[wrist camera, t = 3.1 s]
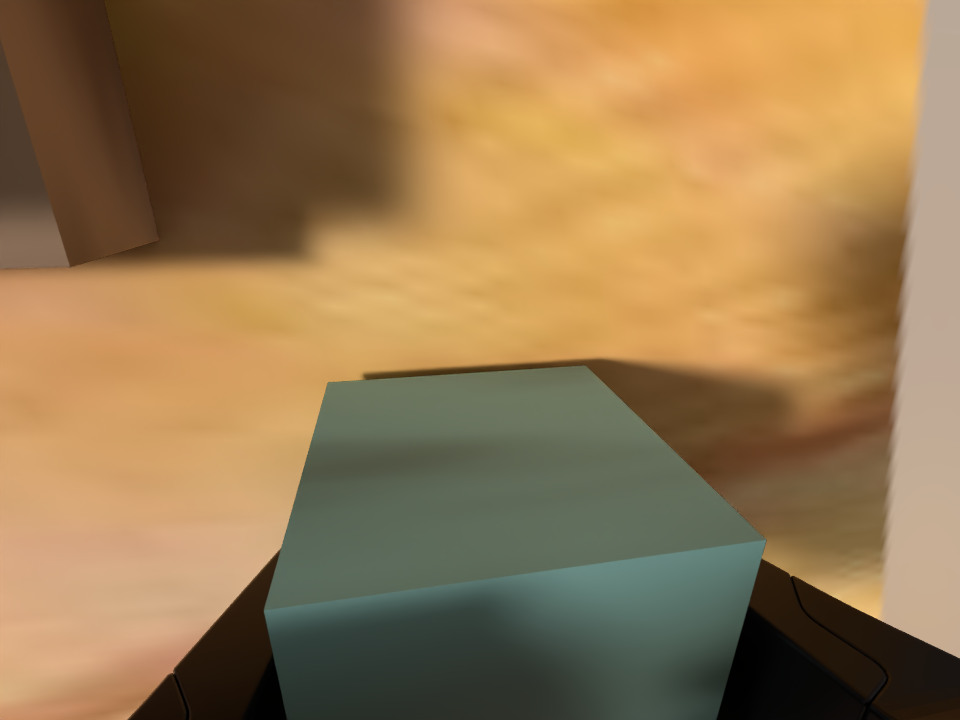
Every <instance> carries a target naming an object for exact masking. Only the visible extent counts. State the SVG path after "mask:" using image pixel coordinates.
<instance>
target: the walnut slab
mask: <svg viewBox="0 0 960 720" xmlns="http://www.w3.org/2000/svg"><path fill="white" fill-rule="evenodd" d="M155 241H159V237H158V232H157V228H156V224H155V219H154V215H153V211H152V206H151V202H150V198H149V193H148V189H147V185H146V180H145V176H144V172H143V168H142V163H141V159H140V155H139V150H138V146H137V142H136V137H135V133H134V129H133V124H132V120H131V116H130V111H129V107H128V103H127V99H126V94H125V90H124V86H123V81H122V77H121V73H120V68H119V64H118V60H117V55H116V51H115V47H114V42H113V38H112V34H111V30H110V25H109V21H108V17H107V12H106V8H105V4H104V0H0V269H9V268H53V267H72V266H75V265H79V264H82V263H85V262H89V261H92V260H95V259H99V258H102V257H105V256H109V255H112V254H115V253H119V252H122V251H125V250H129V249H132V248H135V247H139V246H142V245H145V244H149V243H152V242H155Z"/></svg>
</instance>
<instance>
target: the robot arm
mask: <svg viewBox="0 0 960 720" xmlns="http://www.w3.org/2000/svg"><path fill="white" fill-rule="evenodd" d="M280 551H281V549H280V550H279V551H278V552H277V553H276V554H275V555H274V557H273V558H272V559H271V560H270V561H269V562H268V563H267V564H266V566H265V567H264V568H263V569H262V570H261V571H260V572H259V573H258V575H257V576H256V577H255V578H254V579H253V580H252V581H251V582H250V584H249V585H248V586H247V587H246V588H245V589H244V590H243V591H242V593H241V594H240V595H239V596H238V597H237V598H236V599H235V600H234V602H233V603H232V604H231V605H230V606H229V607H228V608H227V609H226V611H225V612H224V613H223V614H222V615H221V616H220V617H219V618H218V620H217V621H216V622H215V623H214V624H213V625H212V626H211V627H210V629H209V630H208V631H207V632H206V633H205V634H204V635H203V636H202V638H201V639H200V640H199V641H198V642H197V643H196V644H195V645H194V647H193V648H192V649H191V650H190V651H189V652H188V653H187V654H186V656H185V657H184V658H183V659H182V660H181V661H180V662H179V663H178V665H177V666H176V667H175V668H174V670H173V673H174V674H173V673H170V674H169V675H167V677H166V678H165V679H164V680H163V681H162V682H161V683H160V684H159V686H158V687H157V688H156V689H155V690H154V691H153V692H152V693H151V695H150V696H149V697H148V698H147V699H146V700H145V701H144V702H143V703H142V704H141V706H140V707H139V708H138V709H137V710H136V711H135V712H134V713H133V714H132V715H131V716H130V717H129V718H128V720H287V716H286V712H285V707H284V703H283V698H282V693H281V689H280V684H279V679H278V675H277V670H276V665H275V661H274V656H273V651H272V647H271V642H270V637H269V633H268V628H267V623H266V619H265V614H264V608H265V604H266V601H267V597H268V594H269V590H270V587H271V583H272V579H273V576H274V572H275V569H276V565H277V562H278V558H279V555H280ZM716 720H960V658H957V657H956V656H953V655H951V654H949V653H947V652H945V651H943V650H941V649H939V648H936V647H934V646H932V645H930V644H928V643H926V642H924V641H922V640H920V639H918V638H915V637H913V636H911V635H909V634H907V633H905V632H903V631H901V630H898V629H896V628H894V627H892V626H890V625H888V624H886V623H884V622H882V621H880V620H878V619H876V618H874V617H872V616H870V615H868V614H866V613H864V612H862V611H859V610H857V609H855V608H853V607H851V606H849V605H848V604H846V603H844V602H842V601H840V600H838V599H836V598H834V597H832V596H830V595H828V594H827V593H825V592H823V591H821V590H819V589H817V588H815V587H813V586H811V585H810V584H808V583H806V582H804V581H802V580H800V579H799V578H797V577H795V576H791V577H790V575H789V573H787V572H786V571H784V570H782V569H780V568H778V567H776V566H774V565H773V564H771V563H769V562H767V561H765V560H763V559H762V558H761V561H760V565H759V569H758V572H757V576H756V579H755V583H754V587H753V590H752V594H751V597H750V601H749V604H748V608H747V612H746V615H745V619H744V622H743V626H742V630H741V633H740V637H739V640H738V644H737V647H736V651H735V655H734V658H733V662H732V665H731V669H730V672H729V676H728V680H727V683H726V687H725V690H724V694H723V698H722V701H721V705H720V708H719V712H718V715H717V719H716Z"/></svg>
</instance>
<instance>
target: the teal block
mask: <svg viewBox="0 0 960 720" xmlns="http://www.w3.org/2000/svg"><path fill="white" fill-rule="evenodd" d="M765 544H766V539H765V538H764V537H763V536H762V535H761V534H760V533H759V532H758V531H757V530H756V529H755V528H754V527H753V526H752V525H751V524H750V523H748V522H747V521H746V520H745V519H744V518H743V517H742V516H741V515H740V514H739V513H738V512H737V511H736V510H735V509H734V508H733V507H732V506H731V505H730V504H729V503H728V502H727V501H726V500H725V499H724V498H723V497H722V496H720V495H719V494H718V493H717V492H716V491H715V490H714V489H713V488H712V487H711V486H710V485H709V484H708V483H707V482H706V481H705V480H704V479H703V478H702V477H701V476H700V475H699V474H698V473H697V472H696V471H695V470H694V469H692V468H691V467H690V466H689V465H688V464H687V463H686V462H685V461H684V460H683V459H682V458H681V457H680V456H679V455H678V454H677V453H676V452H675V451H674V450H673V449H672V448H671V447H670V446H669V445H668V444H667V443H666V442H664V441H663V440H662V439H661V438H660V437H659V436H658V435H657V434H656V433H655V432H654V431H653V430H652V429H651V428H650V427H649V426H648V425H647V424H646V423H645V422H644V421H643V420H642V419H641V418H640V417H639V416H638V415H637V414H635V413H634V412H633V411H632V410H631V409H630V408H629V407H628V406H627V405H626V404H625V403H624V402H623V401H622V400H621V399H620V398H619V397H618V396H617V395H616V394H615V393H614V392H613V391H612V390H611V389H610V388H609V387H607V386H606V385H605V384H604V383H603V382H602V381H601V380H600V379H599V378H598V377H597V376H596V375H595V374H594V373H593V372H592V371H591V370H590V369H589V368H588V367H587V366H586V365H584V366H569V367H554V368H539V369H523V370H508V371H493V372H478V373H463V374H448V375H432V376H417V377H402V378H387V379H372V380H357V381H342V382H328V384H327V387H326V391H325V394H324V398H323V402H322V405H321V409H320V412H319V416H318V419H317V423H316V426H315V430H314V434H313V437H312V441H311V444H310V448H309V451H308V455H307V458H306V462H305V466H304V469H303V473H302V476H301V480H300V483H299V487H298V490H297V494H296V498H295V501H294V505H293V508H292V512H291V515H290V519H289V523H288V526H287V530H286V533H285V537H284V540H283V544H282V547H281V551H280V555H279V558H278V562H277V565H276V569H275V572H274V576H273V579H272V583H271V587H270V590H269V594H268V597H267V601H266V604H265V608H264V614H265V619H266V623H267V628H268V633H269V637H270V642H271V647H272V651H273V656H274V661H275V665H276V670H277V675H278V679H279V684H280V689H281V693H282V698H283V703H284V707H285V712H286V716H287V720H716V719H717V715H718V712H719V708H720V705H721V701H722V698H723V694H724V690H725V687H726V683H727V680H728V676H729V672H730V669H731V665H732V662H733V658H734V655H735V651H736V647H737V644H738V640H739V637H740V633H741V630H742V626H743V622H744V619H745V615H746V612H747V608H748V604H749V601H750V597H751V594H752V590H753V587H754V583H755V579H756V576H757V572H758V569H759V565H760V561H761V558H762V554H763V551H764V547H765Z"/></svg>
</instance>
